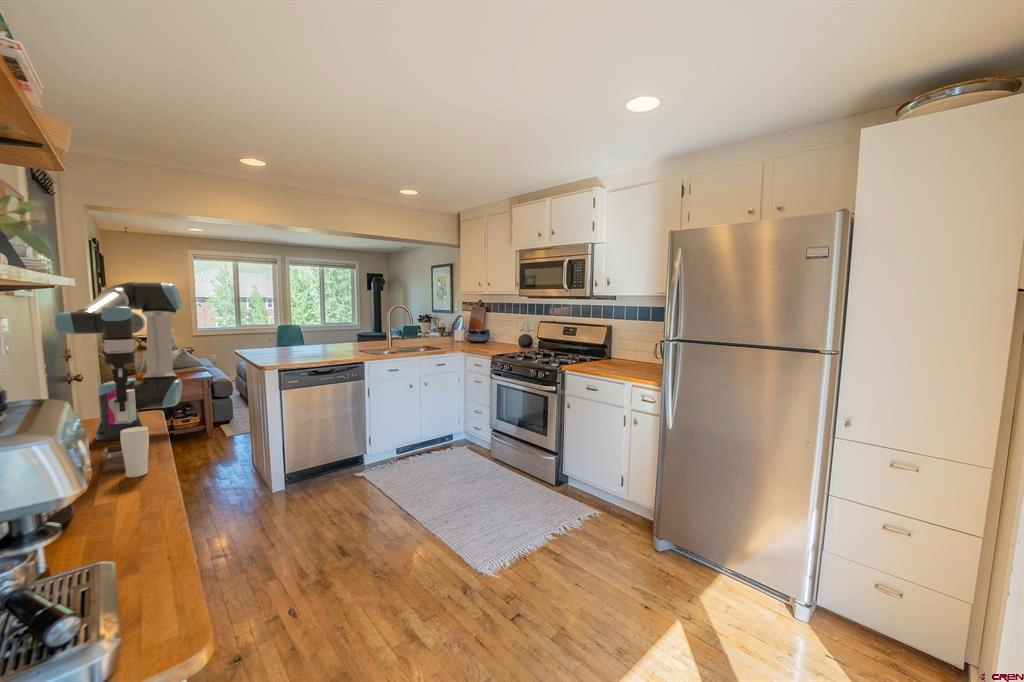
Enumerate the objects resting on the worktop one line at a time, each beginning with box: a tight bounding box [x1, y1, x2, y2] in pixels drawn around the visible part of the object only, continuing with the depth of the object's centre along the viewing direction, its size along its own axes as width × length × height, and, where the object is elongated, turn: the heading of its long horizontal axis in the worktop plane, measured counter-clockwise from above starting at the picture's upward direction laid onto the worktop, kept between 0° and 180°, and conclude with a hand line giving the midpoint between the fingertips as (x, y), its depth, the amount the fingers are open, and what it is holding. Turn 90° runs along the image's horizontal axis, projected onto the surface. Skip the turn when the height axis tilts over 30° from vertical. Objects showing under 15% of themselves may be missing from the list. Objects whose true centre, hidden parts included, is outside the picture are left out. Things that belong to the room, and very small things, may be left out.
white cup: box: [119, 426, 150, 479], centre depth 137 cm, size 7×7×15 cm
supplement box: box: [107, 389, 137, 426], centre depth 146 cm, size 6×6×12 cm
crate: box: [101, 444, 126, 475], centre depth 147 cm, size 16×11×5 cm
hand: (123, 418), depth 147 cm, fingers closed on supplement box, 7 cm apart
